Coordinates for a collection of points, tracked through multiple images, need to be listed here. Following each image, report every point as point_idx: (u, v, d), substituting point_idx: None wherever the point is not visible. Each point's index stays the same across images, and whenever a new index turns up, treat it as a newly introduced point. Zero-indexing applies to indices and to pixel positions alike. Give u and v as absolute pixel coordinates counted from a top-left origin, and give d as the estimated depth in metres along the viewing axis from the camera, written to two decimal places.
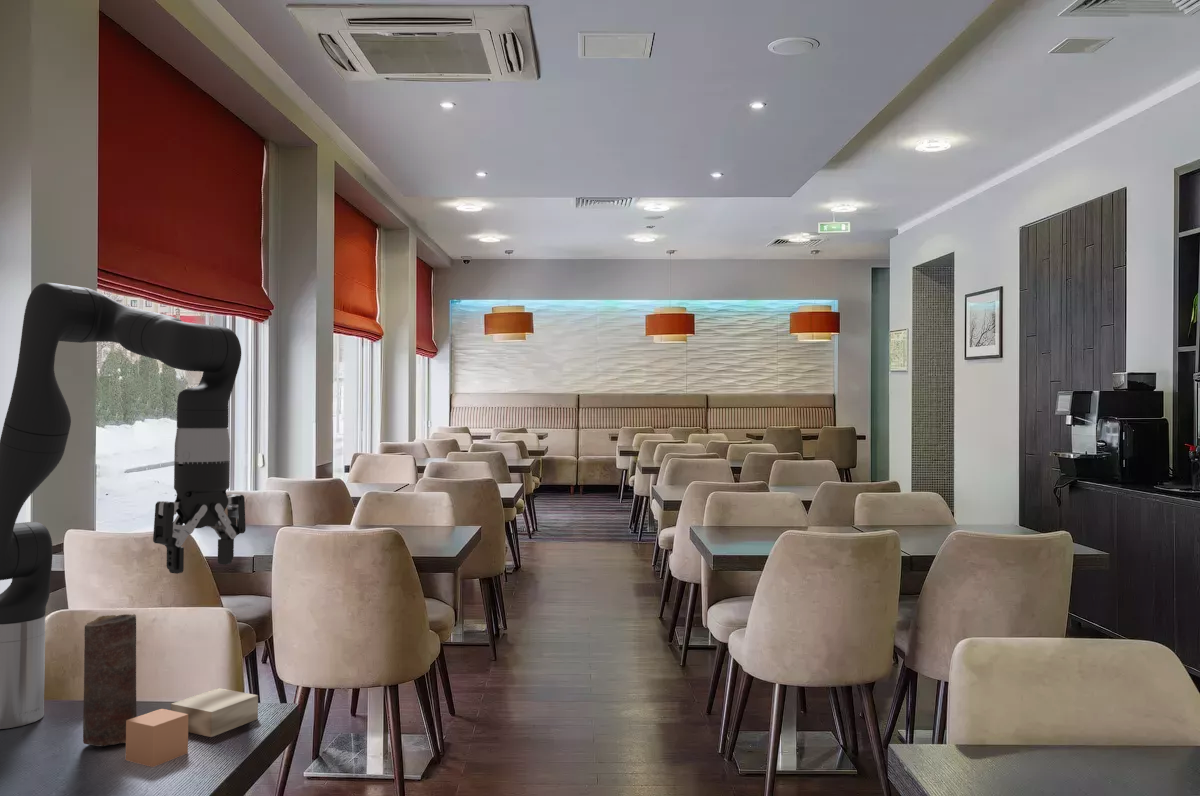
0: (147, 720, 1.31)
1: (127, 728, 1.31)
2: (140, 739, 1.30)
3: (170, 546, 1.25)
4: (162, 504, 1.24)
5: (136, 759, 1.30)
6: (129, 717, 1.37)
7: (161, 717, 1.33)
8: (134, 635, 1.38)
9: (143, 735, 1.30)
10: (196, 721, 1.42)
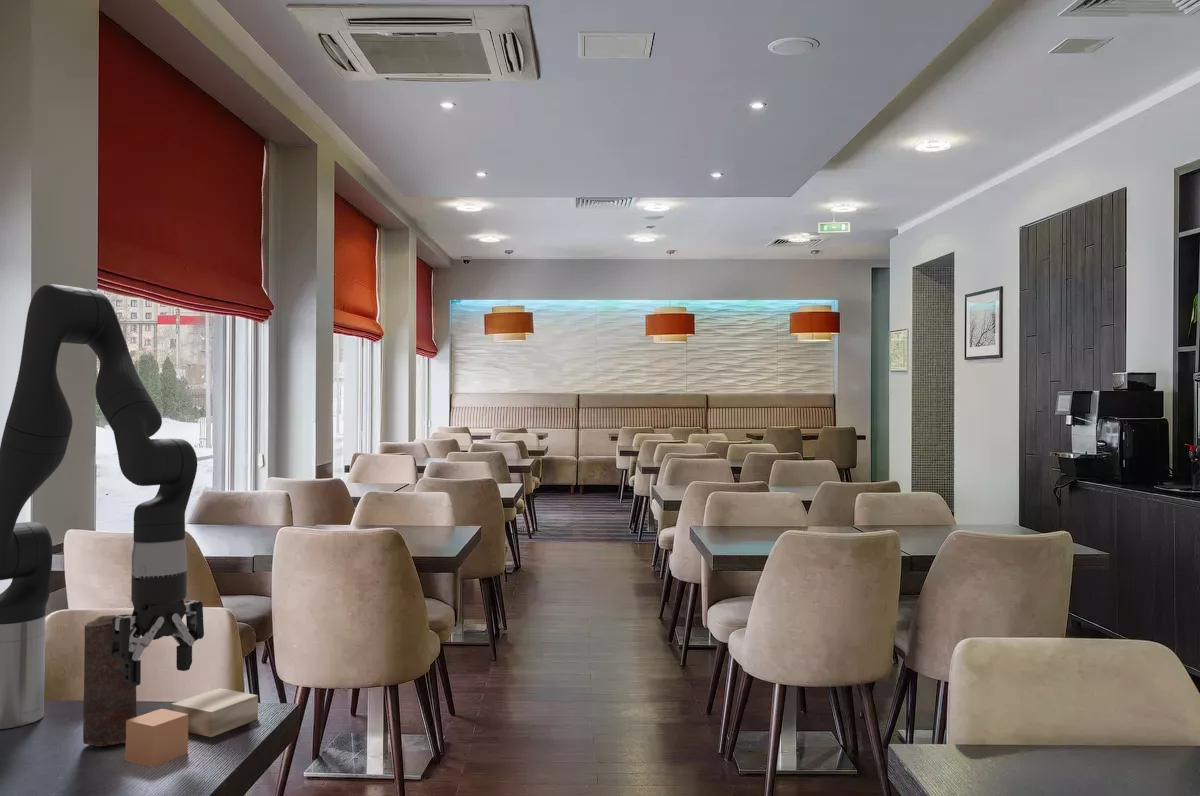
0: (147, 720, 1.31)
1: (127, 728, 1.31)
2: (140, 739, 1.30)
3: (127, 660, 1.28)
4: (118, 620, 1.27)
5: (136, 759, 1.30)
6: (129, 717, 1.37)
7: (161, 717, 1.33)
8: None
9: (143, 735, 1.30)
10: (196, 721, 1.42)
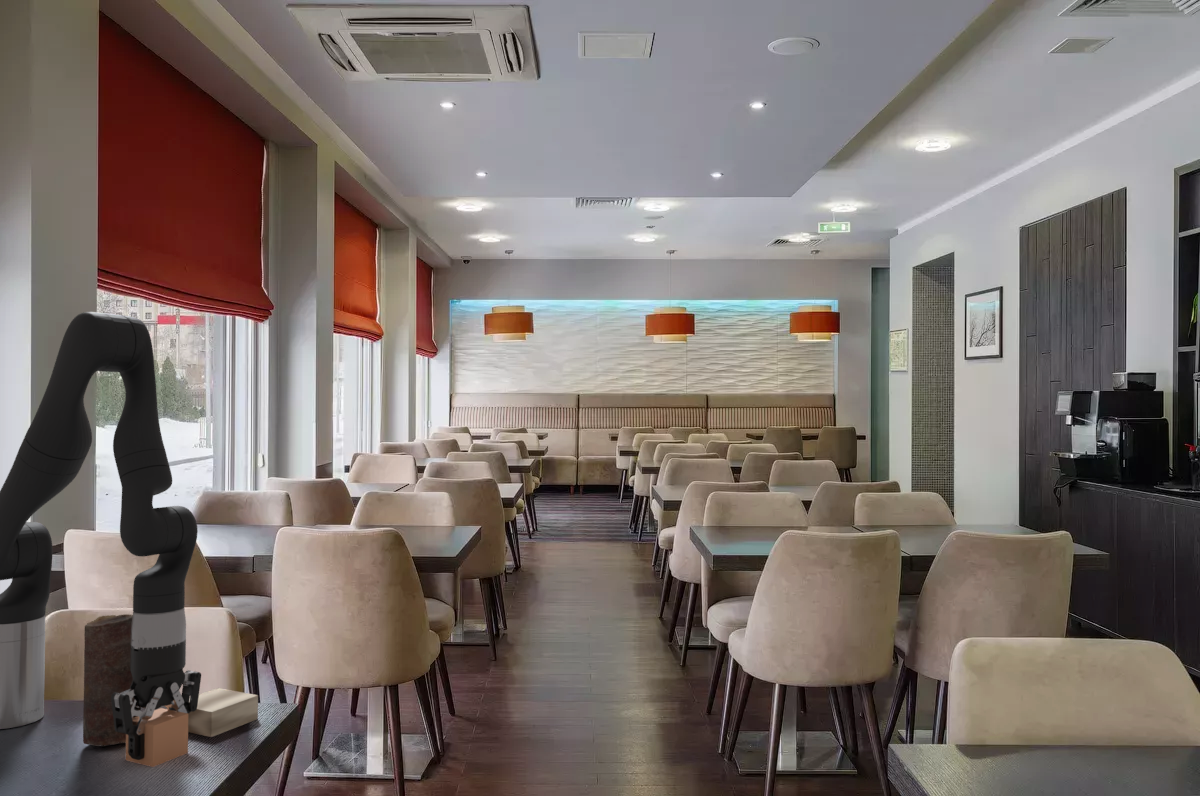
0: None
1: None
2: None
3: (131, 734, 1.28)
4: (117, 698, 1.27)
5: None
6: None
7: (161, 717, 1.33)
8: None
9: None
10: (196, 721, 1.42)
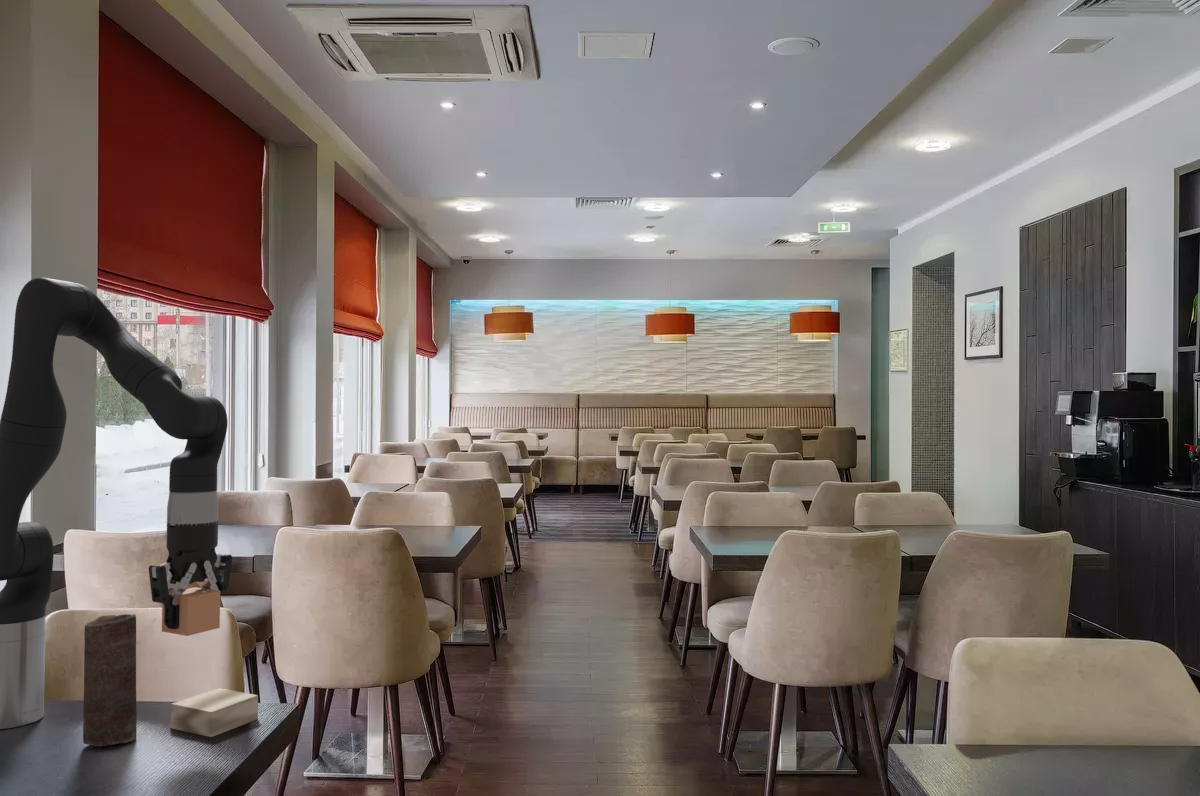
0: (182, 594, 1.39)
1: None
2: None
3: (167, 604, 1.37)
4: (154, 568, 1.35)
5: (172, 629, 1.38)
6: (129, 717, 1.37)
7: (195, 592, 1.41)
8: (134, 635, 1.38)
9: None
10: (196, 721, 1.42)
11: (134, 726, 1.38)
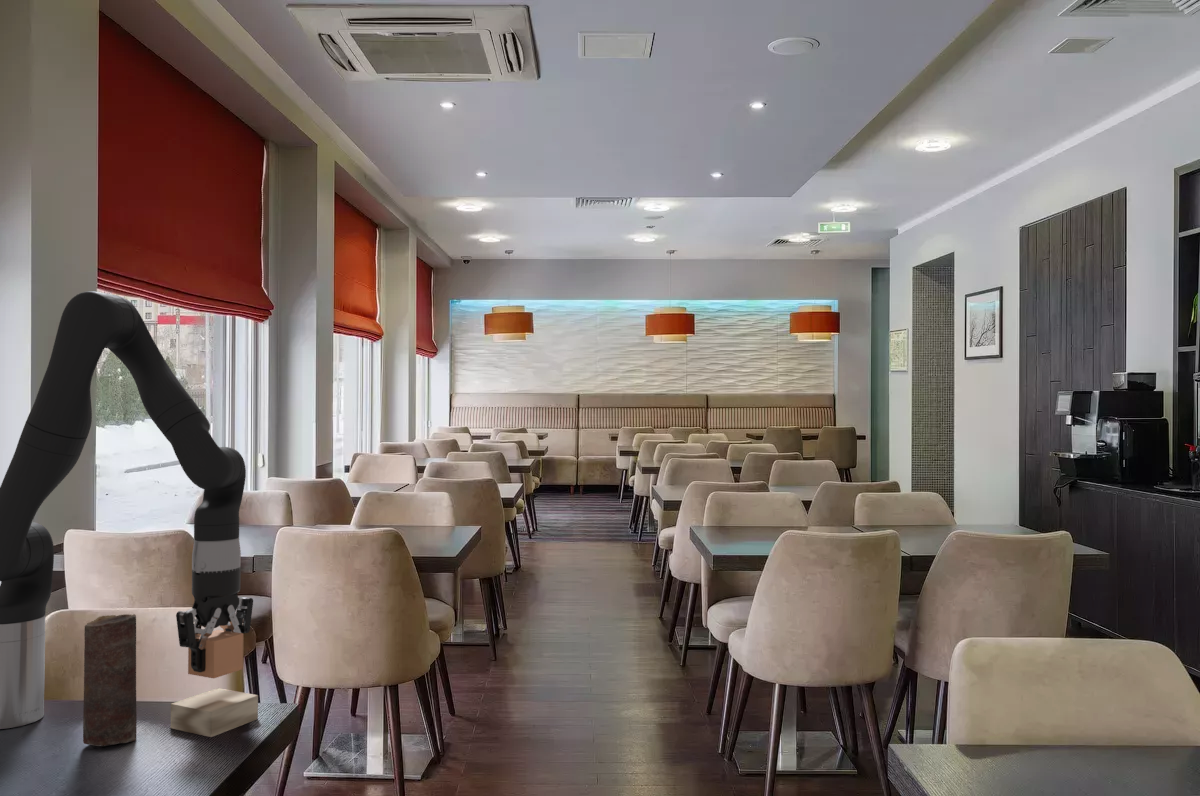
0: None
1: None
2: None
3: (194, 649, 1.43)
4: (182, 615, 1.41)
5: (198, 672, 1.45)
6: (129, 717, 1.37)
7: (219, 635, 1.47)
8: (134, 635, 1.38)
9: None
10: (196, 721, 1.42)
11: (134, 726, 1.38)
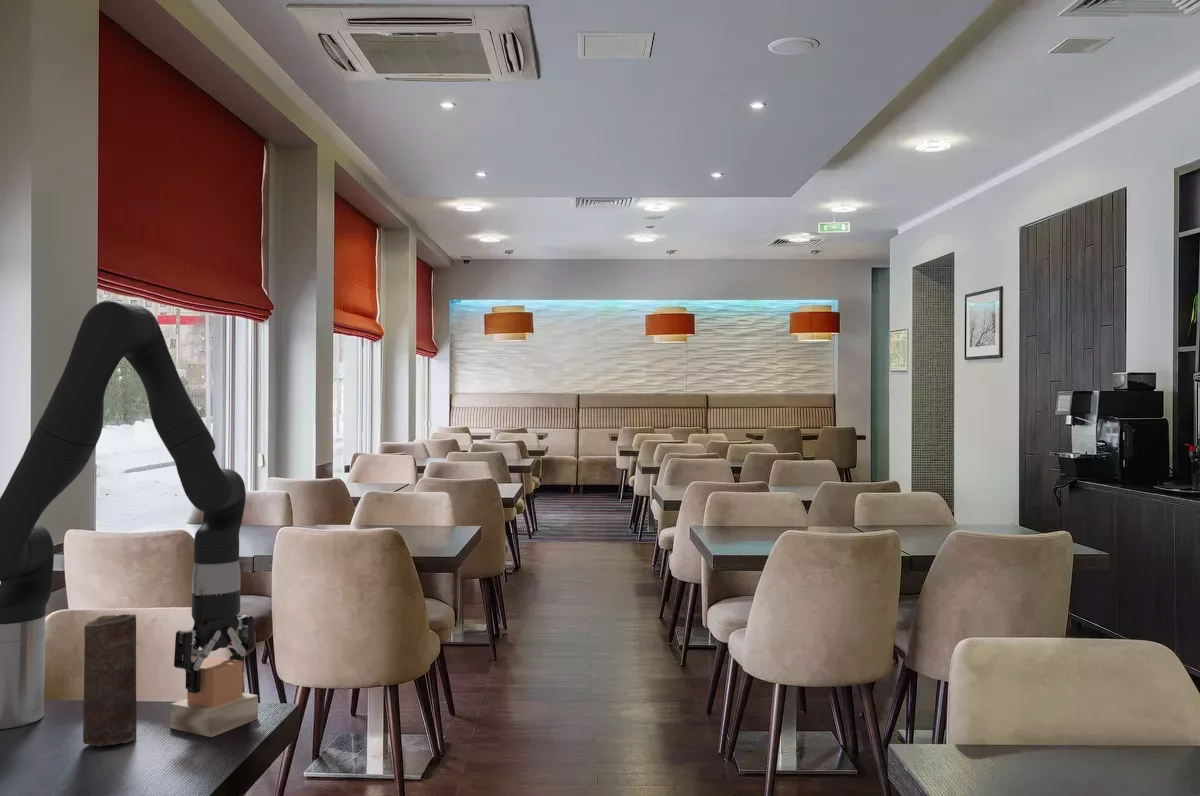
0: (207, 666, 1.46)
1: None
2: (201, 682, 1.44)
3: (189, 670, 1.42)
4: (182, 634, 1.41)
5: (197, 700, 1.45)
6: (129, 717, 1.37)
7: (219, 663, 1.47)
8: (134, 635, 1.38)
9: (203, 678, 1.44)
10: (196, 721, 1.42)
11: (134, 726, 1.38)
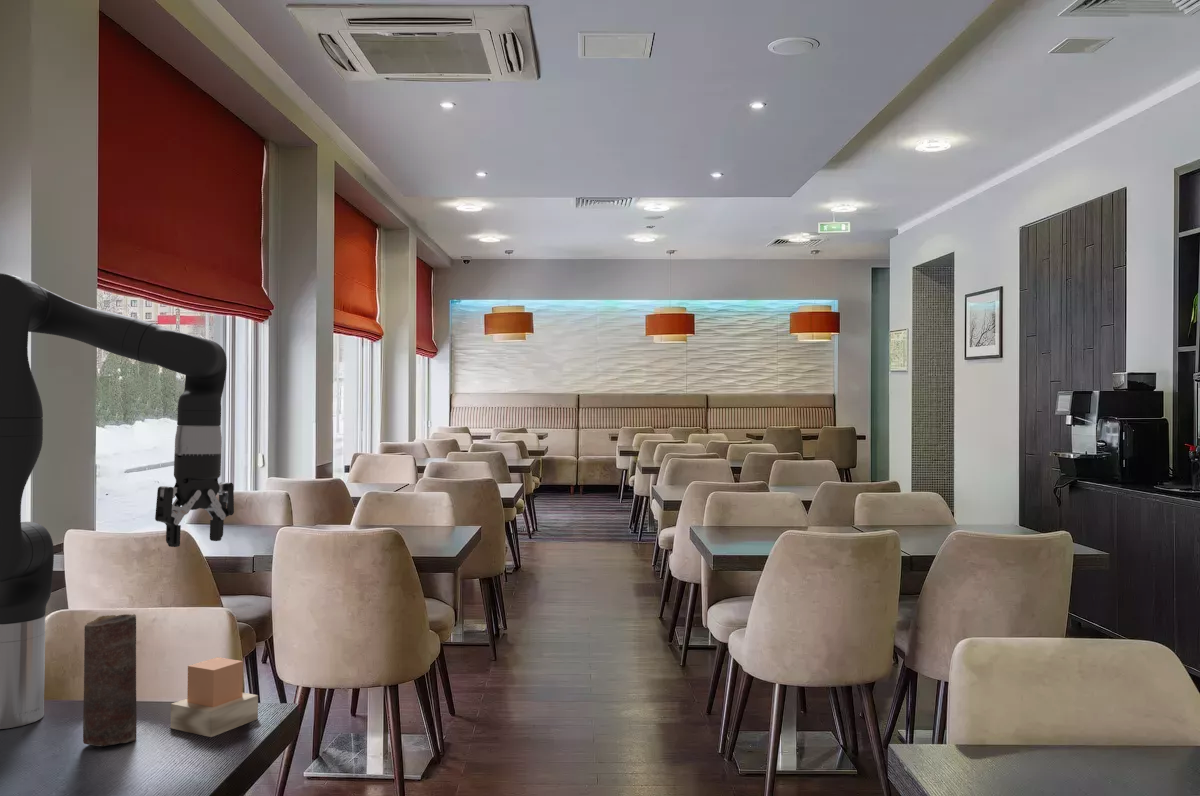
0: (207, 666, 1.46)
1: (189, 673, 1.46)
2: (201, 682, 1.44)
3: (169, 524, 1.49)
4: (163, 488, 1.48)
5: (197, 700, 1.45)
6: (129, 717, 1.37)
7: (219, 663, 1.47)
8: (134, 635, 1.38)
9: (203, 678, 1.44)
10: (196, 721, 1.42)
11: (134, 726, 1.38)
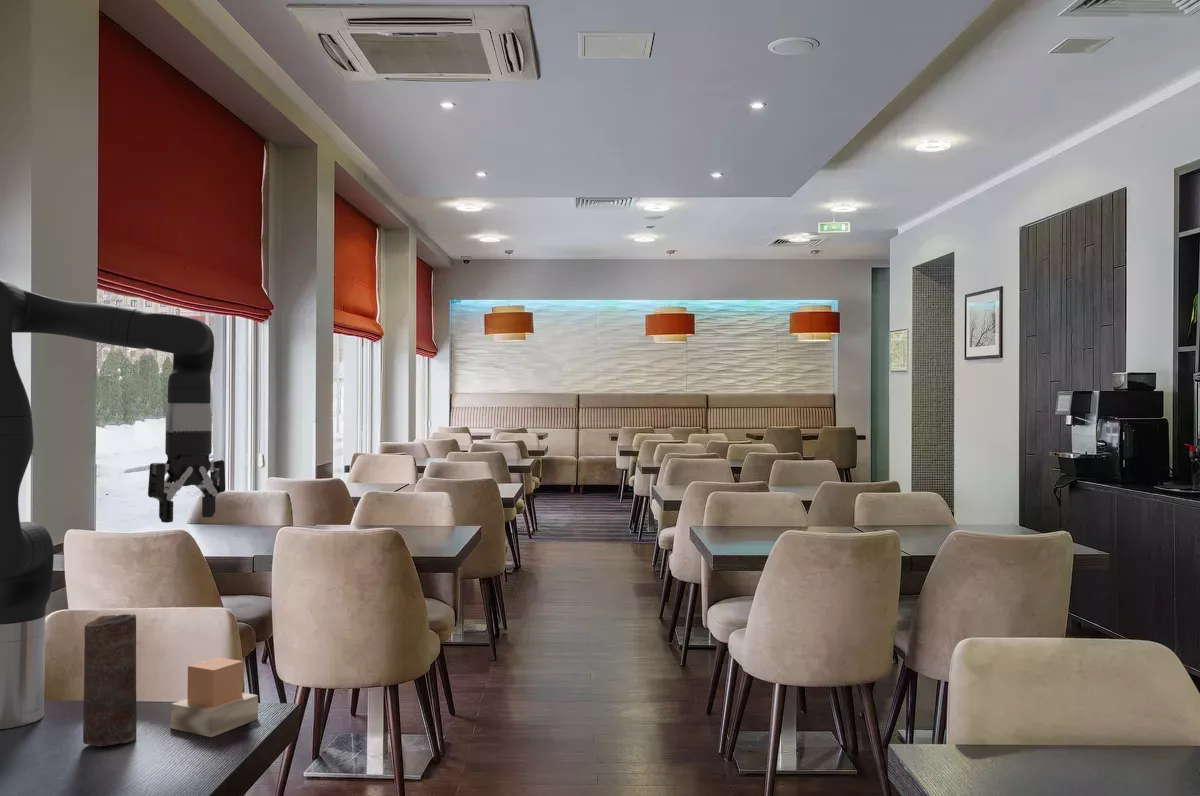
0: (207, 666, 1.46)
1: (189, 673, 1.46)
2: (201, 682, 1.44)
3: (162, 500, 1.51)
4: (155, 465, 1.51)
5: (197, 700, 1.45)
6: (129, 717, 1.37)
7: (219, 663, 1.47)
8: (134, 635, 1.38)
9: (203, 678, 1.44)
10: (196, 721, 1.42)
11: (134, 726, 1.38)
